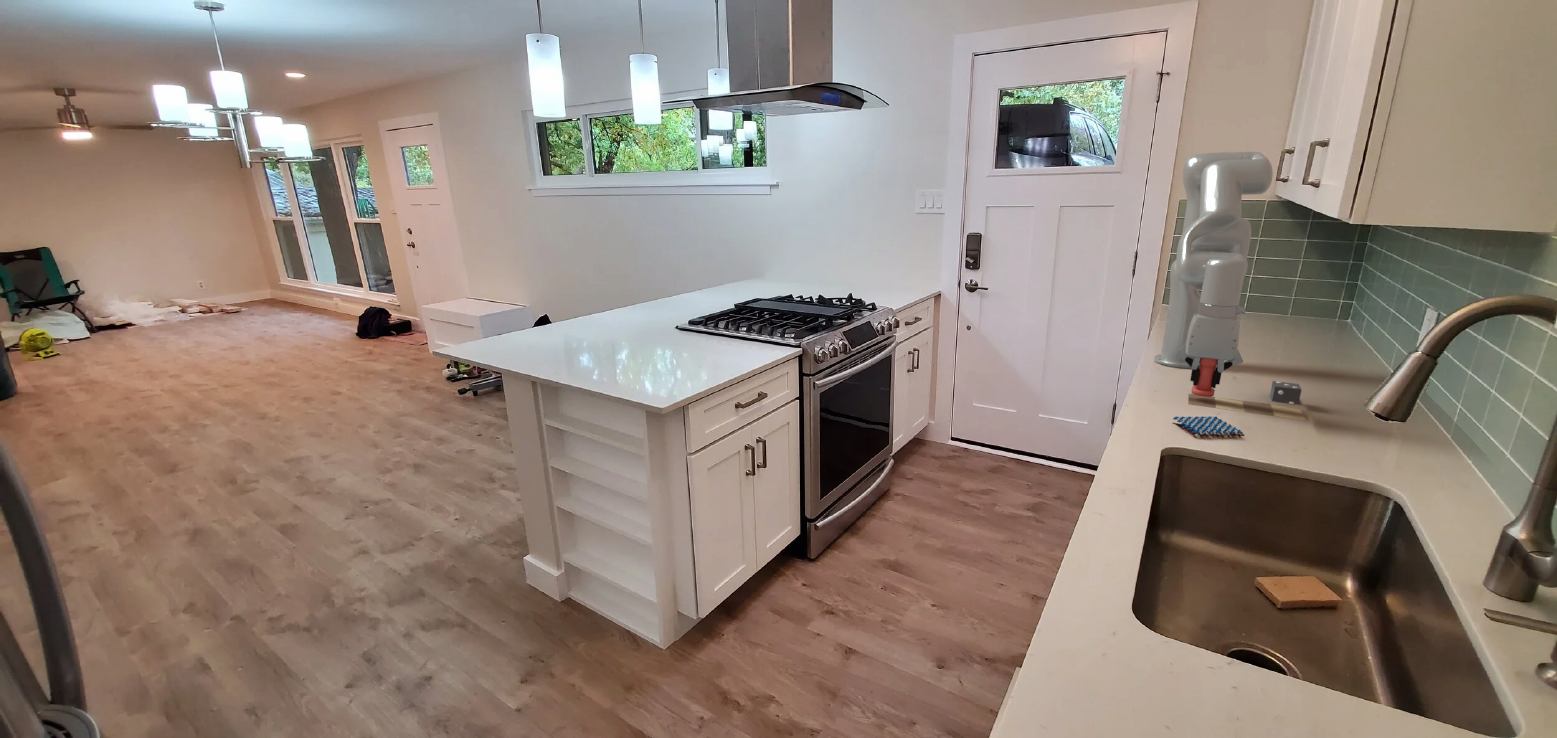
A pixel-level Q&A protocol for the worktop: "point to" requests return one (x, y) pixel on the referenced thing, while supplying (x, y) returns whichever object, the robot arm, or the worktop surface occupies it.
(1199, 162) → the robot arm
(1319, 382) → the worktop surface
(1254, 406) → the board
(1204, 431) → the woven mat
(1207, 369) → the pawn
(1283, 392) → the die
